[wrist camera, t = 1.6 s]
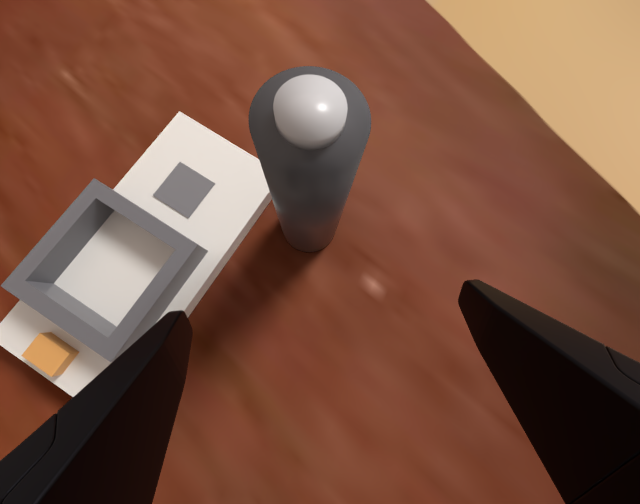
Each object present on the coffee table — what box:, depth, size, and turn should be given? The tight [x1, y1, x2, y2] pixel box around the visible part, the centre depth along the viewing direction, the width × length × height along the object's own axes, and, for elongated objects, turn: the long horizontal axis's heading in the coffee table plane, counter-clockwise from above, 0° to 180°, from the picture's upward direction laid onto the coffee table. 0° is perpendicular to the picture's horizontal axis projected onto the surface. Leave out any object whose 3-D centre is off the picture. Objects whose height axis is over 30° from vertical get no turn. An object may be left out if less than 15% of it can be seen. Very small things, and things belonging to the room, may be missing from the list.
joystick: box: [249, 66, 371, 252], centre depth 16 cm, size 4×4×14 cm
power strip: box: [0, 111, 272, 397], centre depth 20 cm, size 20×10×4 cm, turn 148°
